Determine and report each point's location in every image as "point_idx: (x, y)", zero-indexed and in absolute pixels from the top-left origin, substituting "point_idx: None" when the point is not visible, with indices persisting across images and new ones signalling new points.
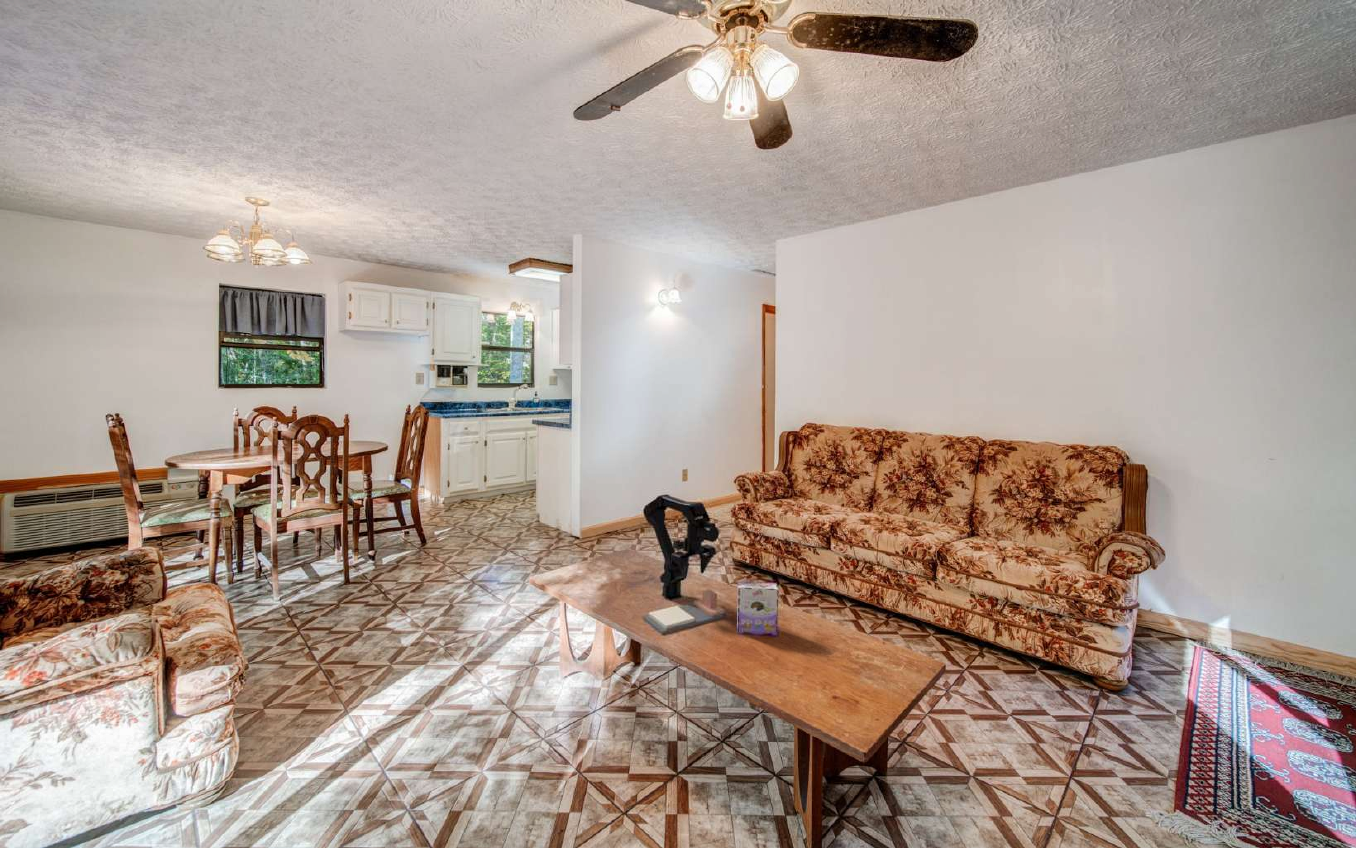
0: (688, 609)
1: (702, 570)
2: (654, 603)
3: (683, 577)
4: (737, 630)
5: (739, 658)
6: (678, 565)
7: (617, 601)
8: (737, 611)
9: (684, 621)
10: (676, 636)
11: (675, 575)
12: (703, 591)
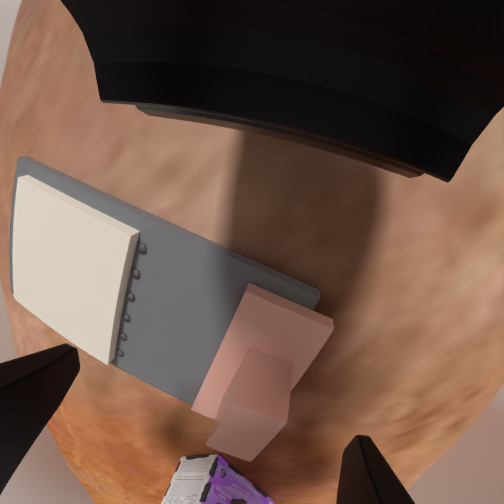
0: (176, 289)
1: (346, 477)
2: None
3: (60, 349)
4: (179, 462)
5: (103, 458)
6: (260, 43)
7: None
8: (186, 498)
9: (70, 338)
10: (39, 329)
11: (168, 117)
12: (230, 406)
